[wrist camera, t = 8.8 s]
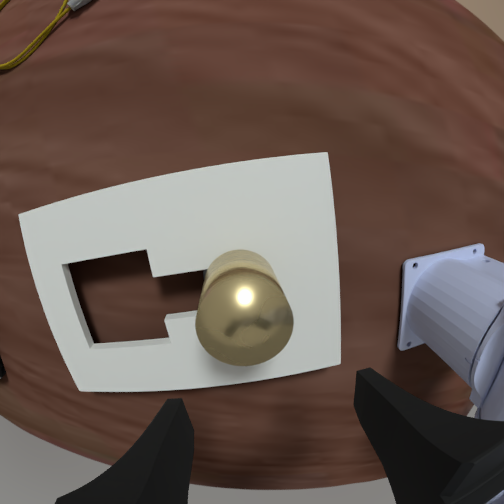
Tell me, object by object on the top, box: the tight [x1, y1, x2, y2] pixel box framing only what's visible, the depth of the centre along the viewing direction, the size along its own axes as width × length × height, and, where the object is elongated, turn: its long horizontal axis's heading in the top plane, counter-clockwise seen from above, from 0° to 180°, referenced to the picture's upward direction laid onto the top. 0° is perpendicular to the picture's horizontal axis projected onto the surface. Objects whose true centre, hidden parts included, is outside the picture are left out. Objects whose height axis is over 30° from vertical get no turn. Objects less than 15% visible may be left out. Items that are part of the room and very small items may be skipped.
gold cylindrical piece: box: [195, 249, 294, 366], centre depth 16 cm, size 4×4×8 cm
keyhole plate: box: [19, 152, 341, 392], centre depth 18 cm, size 20×14×2 cm
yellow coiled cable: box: [0, 0, 92, 69], centre depth 12 cm, size 12×16×2 cm
